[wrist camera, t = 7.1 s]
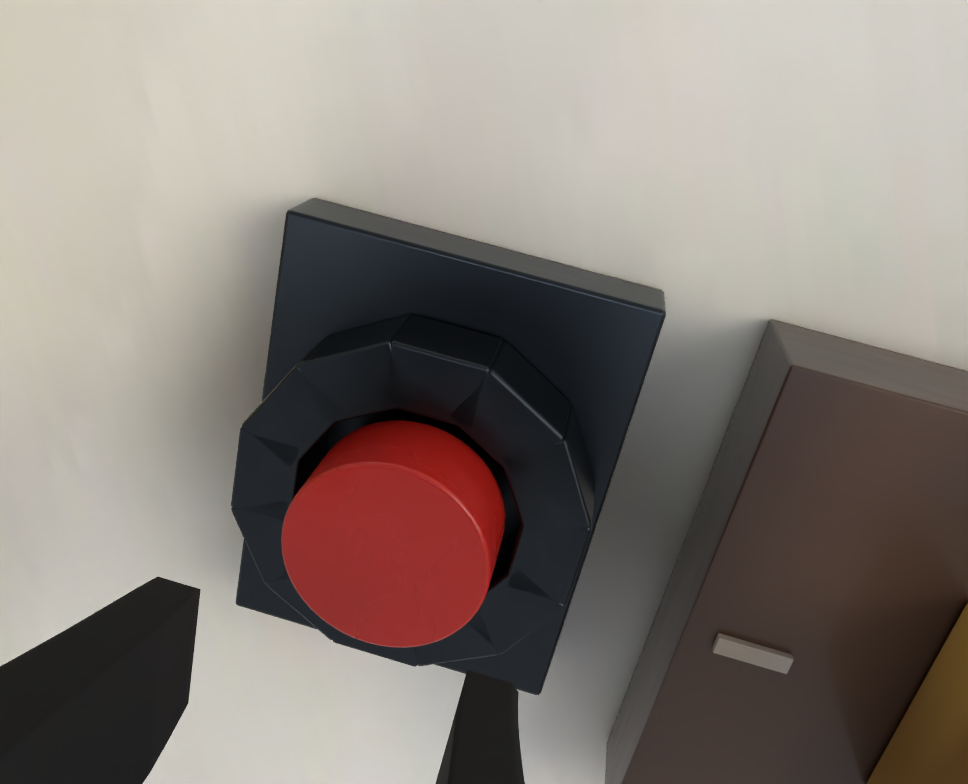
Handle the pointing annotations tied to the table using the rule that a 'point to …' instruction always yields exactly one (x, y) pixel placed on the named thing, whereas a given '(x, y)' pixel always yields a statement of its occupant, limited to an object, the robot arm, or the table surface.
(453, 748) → the robot arm
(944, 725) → the thumb turn
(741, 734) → the plate
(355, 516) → the bell button
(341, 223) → the box
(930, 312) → the table surface
